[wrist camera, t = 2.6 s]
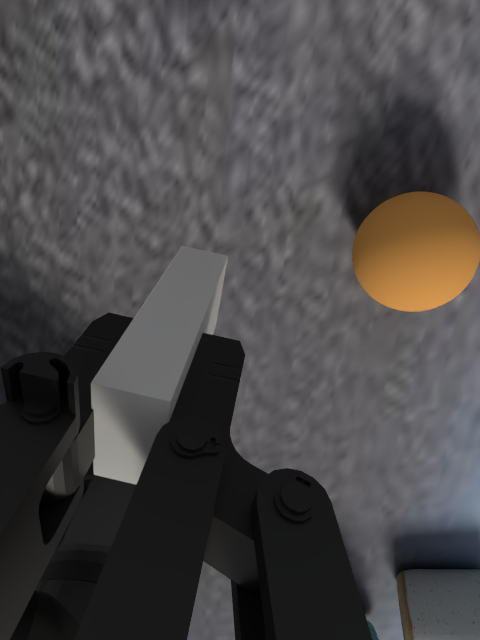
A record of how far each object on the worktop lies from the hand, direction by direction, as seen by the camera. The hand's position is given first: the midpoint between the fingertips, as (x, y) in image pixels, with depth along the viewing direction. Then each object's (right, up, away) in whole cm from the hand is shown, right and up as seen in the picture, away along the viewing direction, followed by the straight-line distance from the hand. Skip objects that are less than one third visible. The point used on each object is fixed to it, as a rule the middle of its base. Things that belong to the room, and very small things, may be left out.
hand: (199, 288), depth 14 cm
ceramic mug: (+22, -27, +28) cm, 45 cm away
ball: (+10, +2, +7) cm, 13 cm away
